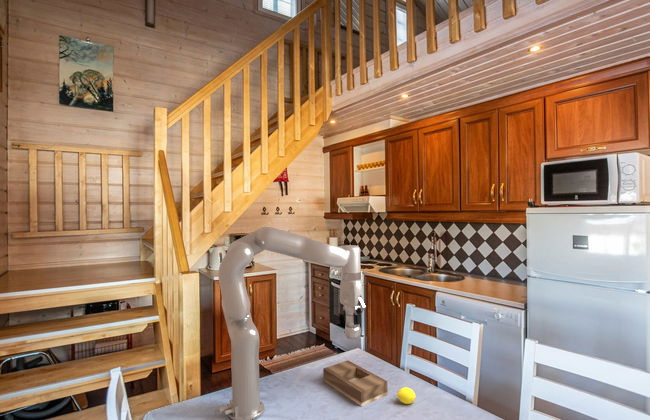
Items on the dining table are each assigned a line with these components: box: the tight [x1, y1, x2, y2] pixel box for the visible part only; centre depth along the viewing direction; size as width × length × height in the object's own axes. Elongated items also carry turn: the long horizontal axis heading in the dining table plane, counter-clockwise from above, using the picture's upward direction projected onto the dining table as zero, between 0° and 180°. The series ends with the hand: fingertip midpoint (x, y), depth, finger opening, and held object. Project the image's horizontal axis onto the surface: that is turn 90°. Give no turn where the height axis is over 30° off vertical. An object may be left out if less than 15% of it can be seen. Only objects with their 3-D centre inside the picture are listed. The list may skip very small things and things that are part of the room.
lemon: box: [396, 386, 417, 405], centre depth 128 cm, size 7×5×5 cm
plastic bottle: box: [344, 299, 362, 340], centre depth 140 cm, size 6×7×20 cm
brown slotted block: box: [322, 359, 389, 407], centre depth 140 cm, size 13×24×5 cm, turn 35°
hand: (352, 321), depth 140 cm, fingers closed on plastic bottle, 5 cm apart
